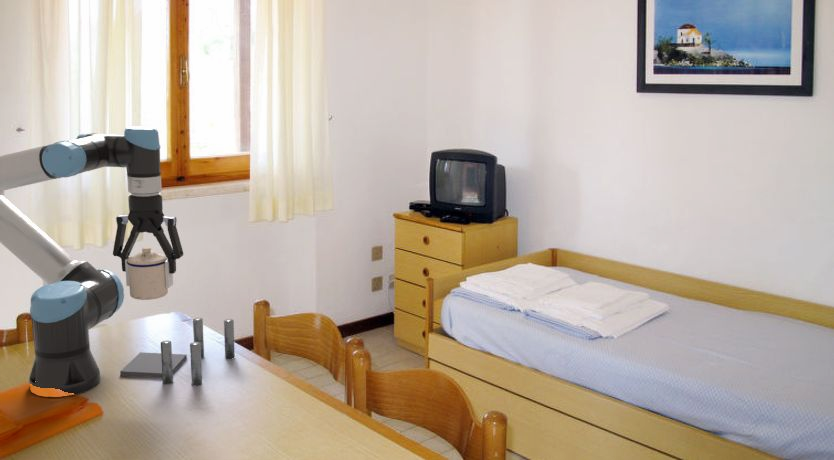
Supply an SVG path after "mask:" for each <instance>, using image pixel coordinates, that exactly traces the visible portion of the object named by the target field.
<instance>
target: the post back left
mask: <svg viewBox="0 0 834 460" xmlns="http://www.w3.org/2000/svg"><path fill="white" fill-rule="evenodd" d="M192 332H193V342H200V343H201V357H202V358H204V357H205V347H204V344H205V343H204V321H203V318H202V317H194V318H193V319H192ZM203 356H204V357H203Z"/></svg>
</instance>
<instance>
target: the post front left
mask: <svg viewBox="0 0 834 460" xmlns="http://www.w3.org/2000/svg"><path fill="white" fill-rule="evenodd" d="M172 346H173V345H172V341H171V340H163V341H160V353H161V361H162V378H161V379H162V384H163V385H171V384H173V383H174V374H173V366H172V354H173V349H172Z"/></svg>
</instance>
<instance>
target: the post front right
mask: <svg viewBox="0 0 834 460" xmlns="http://www.w3.org/2000/svg"><path fill="white" fill-rule="evenodd" d="M189 352H190V353H189V354H190V373H191V376H190V377H191V386H194V387H198V386H201V385H202V384H203V369H202V358H201V343H200V342H194V341H193V342H190V343H189Z"/></svg>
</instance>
